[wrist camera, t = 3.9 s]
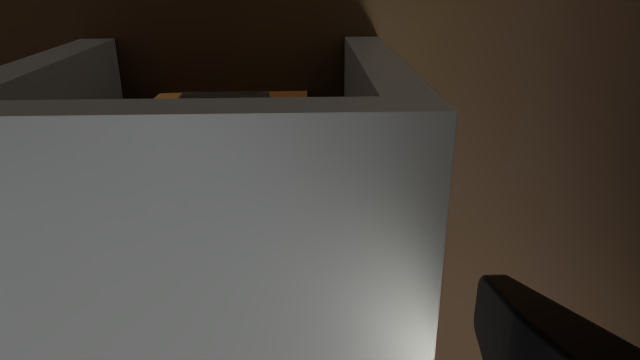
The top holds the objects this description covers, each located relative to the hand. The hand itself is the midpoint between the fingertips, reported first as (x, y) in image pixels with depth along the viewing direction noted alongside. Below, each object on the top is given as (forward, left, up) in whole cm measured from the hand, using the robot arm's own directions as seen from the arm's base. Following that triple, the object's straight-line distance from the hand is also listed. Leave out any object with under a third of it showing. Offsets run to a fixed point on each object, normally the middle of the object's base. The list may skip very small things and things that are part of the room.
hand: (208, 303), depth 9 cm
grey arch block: (0, 0, -6) cm, 6 cm away
